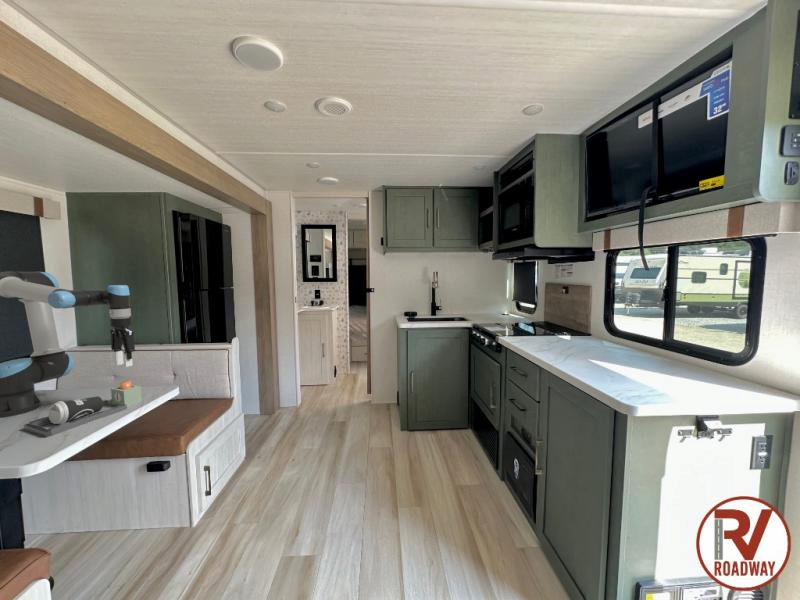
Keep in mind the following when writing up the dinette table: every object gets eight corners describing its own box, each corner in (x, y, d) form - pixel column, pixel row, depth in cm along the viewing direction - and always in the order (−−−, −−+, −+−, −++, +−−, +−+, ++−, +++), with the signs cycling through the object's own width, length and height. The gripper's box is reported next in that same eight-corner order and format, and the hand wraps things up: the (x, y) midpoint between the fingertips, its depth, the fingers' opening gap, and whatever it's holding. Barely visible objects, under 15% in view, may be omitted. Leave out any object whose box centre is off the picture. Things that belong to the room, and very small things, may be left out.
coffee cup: (107, 400, 143) (64, 410, 128) (100, 418, 144) (57, 430, 129) (95, 389, 145) (51, 398, 131) (88, 406, 146) (44, 417, 132)
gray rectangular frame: (24, 429, 127) (23, 423, 127) (105, 404, 151) (104, 399, 151) (46, 437, 121) (45, 431, 120) (127, 409, 145) (126, 404, 145)
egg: (119, 395, 151) (118, 383, 151) (128, 392, 155) (127, 380, 154) (124, 396, 150) (123, 384, 149) (133, 393, 153) (132, 381, 153)
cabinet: (110, 405, 151) (109, 389, 150) (129, 399, 158) (128, 383, 157) (123, 408, 147) (122, 391, 146) (141, 402, 154) (140, 386, 153)
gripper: (98, 317, 149) (102, 365, 151) (123, 319, 142) (127, 369, 144) (117, 315, 156) (121, 361, 158) (142, 317, 149) (145, 365, 151)
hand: (124, 365), depth 151 cm, fingers open, 6 cm apart
